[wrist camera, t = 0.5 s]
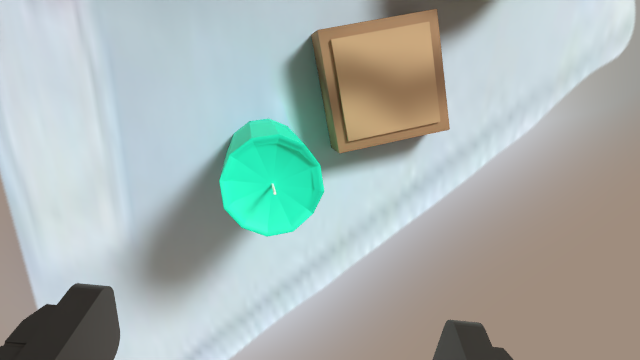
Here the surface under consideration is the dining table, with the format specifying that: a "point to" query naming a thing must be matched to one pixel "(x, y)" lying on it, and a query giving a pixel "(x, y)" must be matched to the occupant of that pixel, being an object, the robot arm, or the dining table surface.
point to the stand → (382, 80)
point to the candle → (270, 179)
